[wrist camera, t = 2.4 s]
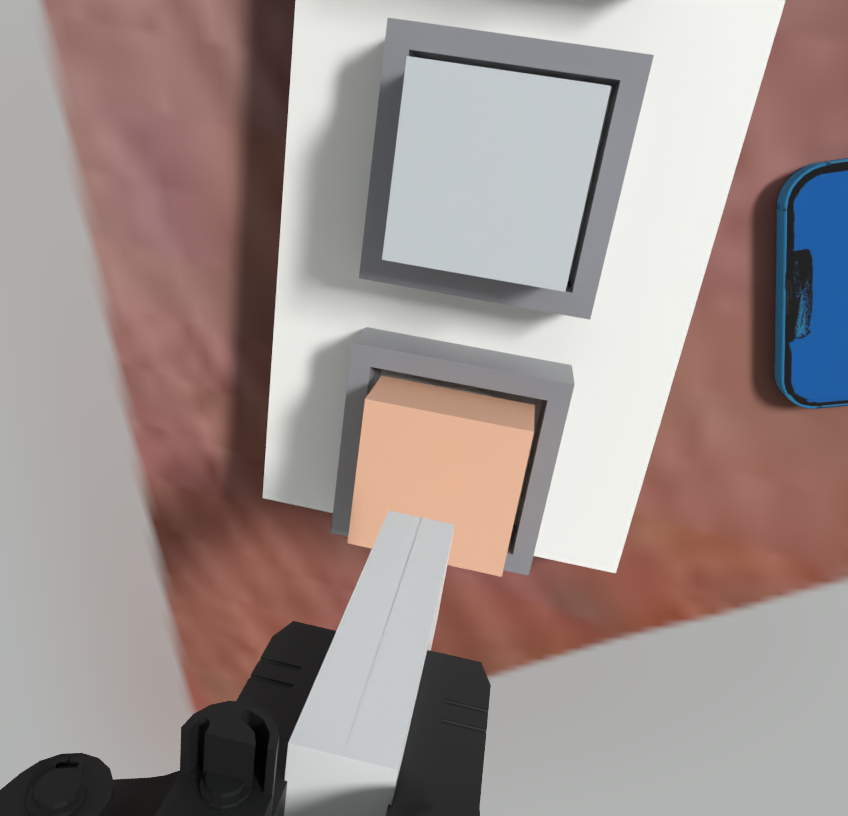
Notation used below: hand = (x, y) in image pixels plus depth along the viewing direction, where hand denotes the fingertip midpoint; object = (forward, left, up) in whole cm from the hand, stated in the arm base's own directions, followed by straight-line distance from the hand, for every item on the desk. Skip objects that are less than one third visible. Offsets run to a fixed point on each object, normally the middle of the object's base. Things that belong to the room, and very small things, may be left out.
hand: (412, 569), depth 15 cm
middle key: (-8, 0, -5) cm, 10 cm away
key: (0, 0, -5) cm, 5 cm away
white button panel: (-8, 0, -9) cm, 12 cm away
